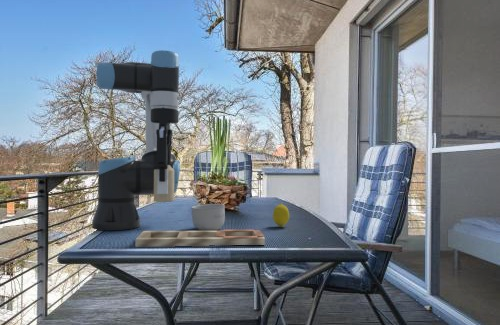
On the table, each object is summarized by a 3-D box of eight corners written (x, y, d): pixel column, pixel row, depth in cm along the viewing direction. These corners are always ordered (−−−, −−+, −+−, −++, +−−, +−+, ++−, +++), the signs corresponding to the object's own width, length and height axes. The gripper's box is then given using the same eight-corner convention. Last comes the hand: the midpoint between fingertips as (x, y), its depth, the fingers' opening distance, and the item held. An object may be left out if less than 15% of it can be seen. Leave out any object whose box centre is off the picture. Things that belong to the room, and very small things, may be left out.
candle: (177, 200, 115) (178, 164, 114) (167, 202, 109) (167, 165, 109) (160, 199, 116) (160, 164, 116) (149, 201, 111) (150, 164, 111)
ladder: (135, 246, 106) (135, 238, 106) (143, 237, 118) (143, 229, 118) (265, 245, 109) (265, 237, 109) (260, 237, 121) (260, 229, 121)
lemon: (291, 226, 140) (292, 203, 140) (284, 229, 135) (284, 205, 135) (277, 225, 143) (277, 202, 143) (269, 227, 138) (270, 203, 138)
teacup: (219, 233, 126) (219, 207, 126) (186, 232, 128) (186, 206, 128) (230, 226, 140) (230, 203, 140) (200, 224, 142) (200, 202, 142)
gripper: (175, 105, 103) (174, 196, 104) (181, 112, 122) (180, 189, 122) (145, 104, 103) (144, 196, 103) (155, 111, 121) (155, 189, 122)
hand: (164, 192), depth 113 cm, fingers closed on candle, 5 cm apart
